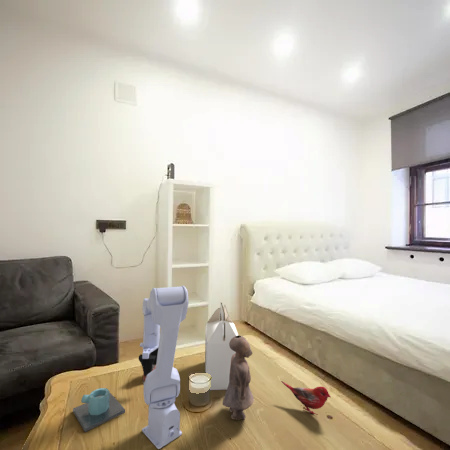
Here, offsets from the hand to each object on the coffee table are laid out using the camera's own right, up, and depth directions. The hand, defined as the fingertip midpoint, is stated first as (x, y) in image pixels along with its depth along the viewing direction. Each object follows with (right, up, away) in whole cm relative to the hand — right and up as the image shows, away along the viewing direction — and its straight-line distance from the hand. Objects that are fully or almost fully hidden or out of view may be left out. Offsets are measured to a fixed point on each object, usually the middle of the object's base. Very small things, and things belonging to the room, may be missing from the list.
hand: (150, 369), depth 93 cm
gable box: (+25, -11, +15) cm, 31 cm away
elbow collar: (-16, -8, -9) cm, 19 cm away
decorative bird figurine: (+54, -11, -6) cm, 55 cm away
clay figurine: (+31, -10, -9) cm, 34 cm away
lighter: (-4, -10, +12) cm, 16 cm away
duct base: (-14, -9, -9) cm, 19 cm away
